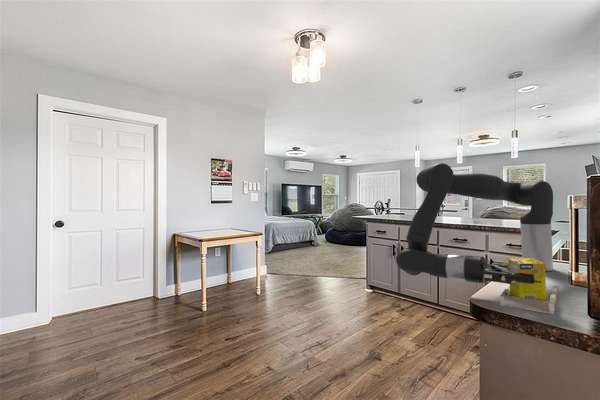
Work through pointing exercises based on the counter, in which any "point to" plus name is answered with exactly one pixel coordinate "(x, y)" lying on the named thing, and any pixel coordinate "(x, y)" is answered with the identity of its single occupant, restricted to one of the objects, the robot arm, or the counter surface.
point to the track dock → (529, 302)
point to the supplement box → (527, 289)
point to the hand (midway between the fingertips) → (535, 275)
